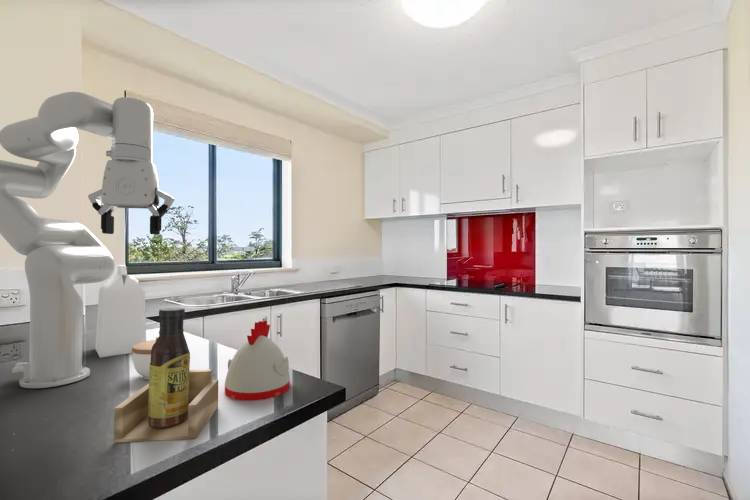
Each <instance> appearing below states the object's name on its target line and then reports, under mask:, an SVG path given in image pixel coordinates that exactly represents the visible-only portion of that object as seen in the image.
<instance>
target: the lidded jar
mask: <svg viewBox="0 0 750 500" xmlns="http://www.w3.org/2000/svg"><path fill="white" fill-rule="evenodd" d="M158 337H159V336H158ZM158 337H157V336H156V337H155V339H152V340H146V342H141V343H138V344H136V345H134V346H133V347H132V352H133V353H132V364H133V367H134V369H135V371H136V372H137V374H139V375H140V376H141V377H142V378H143V380H148V381H149V372H150V363H151V350H152V346H153V345H154V343H155V342H156V340H157V339H158Z"/></svg>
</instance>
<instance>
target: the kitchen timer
mask: <svg viewBox="0 0 750 500" xmlns="http://www.w3.org/2000/svg"><path fill="white" fill-rule="evenodd" d="M270 327H271V325H270V324H268V320H262V321H258V322H254V328H250V334H251V335H247V336H246V337H247V340H245V341H244V342H243V343H242V344H241V345H240V347H239V348H238V349H237V350H236V352H235V354H234V355H233V357H232V359H230V358H229V359H228V362H227V373H226V376H225V380H224V394H225V397H228V398H229V399H233V400H235V401H236V400H237V401H244V402H245V401H246V402H247V401H251V402H252V401H263V400H267V399H272V398H275V397H278V396H280V395H283V394H285V393H286V392H287V391H288V390H289V389H290V383H291V381H290V380H291V377H290V368H289V367H290V366H289V358H288V356H285V355H284V353H283V352H282V350H281V348H280V347H279V345H277V344H276V343H275V342H274V340H272V339H271V338H269V337H268V336H269V332H270Z"/></svg>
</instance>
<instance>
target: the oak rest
mask: <svg viewBox="0 0 750 500" xmlns="http://www.w3.org/2000/svg"><path fill="white" fill-rule="evenodd" d="M148 396H149V382H148V383H147V384H146V385H144V386H143V387H142V388H140V389H138V390H137V391H136V392H134V393H133V394H131V396H128V397H127V398H126V399H125V400H124V401H122V402H121V403H119V404H118V405H116V406H115V407H114V409H113V410H114V412H113V413H114V415H113V417H114V418H113V443H116V444H117V443H132V442H133V443H134V442H152V441H153V442H155V441H171V440H172V441H173V440H175V441H176V440H196V439H197V437H198V436H199V434H200V433H201V432H202V431H203V429H204V428H205V427H206V425H207V423H208V422H209V421H210V420H211V418H212V417H213V415H214V414H215V413H216V411H217V409H218V408H219V379H213V369H189V399H188V410H187V416H186V418H185V420H184V421H183V422H182V423H180V424H177V425H174V426H170V427H165V428H154V427H151V426H150V425H149V423H148V420H149V416H148Z"/></svg>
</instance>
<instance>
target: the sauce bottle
mask: <svg viewBox="0 0 750 500" xmlns="http://www.w3.org/2000/svg"><path fill="white" fill-rule="evenodd" d="M185 311H186V309H185V308H183V307H168V308H167V307H166V308H160V309H159V310H158V317H159V331H158V335H159V336H158V339H157V340H156V339H155V340H156V342H155V343H154V345H153V346H152V350H151V363H150V372H149V380H148V383H149V396H148V416H149V420H148V423H149V425H150V426H151V427H154V428H165V427H170V426H174V425H177V424H180V423H182V422H183V421H184V420H185V418H186V416H187V410H188V399H189V370H191V369H190V367H191V366H190V365H191V364H190V362H191V353H190V350H189V346H188V343H187V340H186V337H185V334H184V332H185V331H184V318H185V316H186V312H185Z"/></svg>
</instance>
